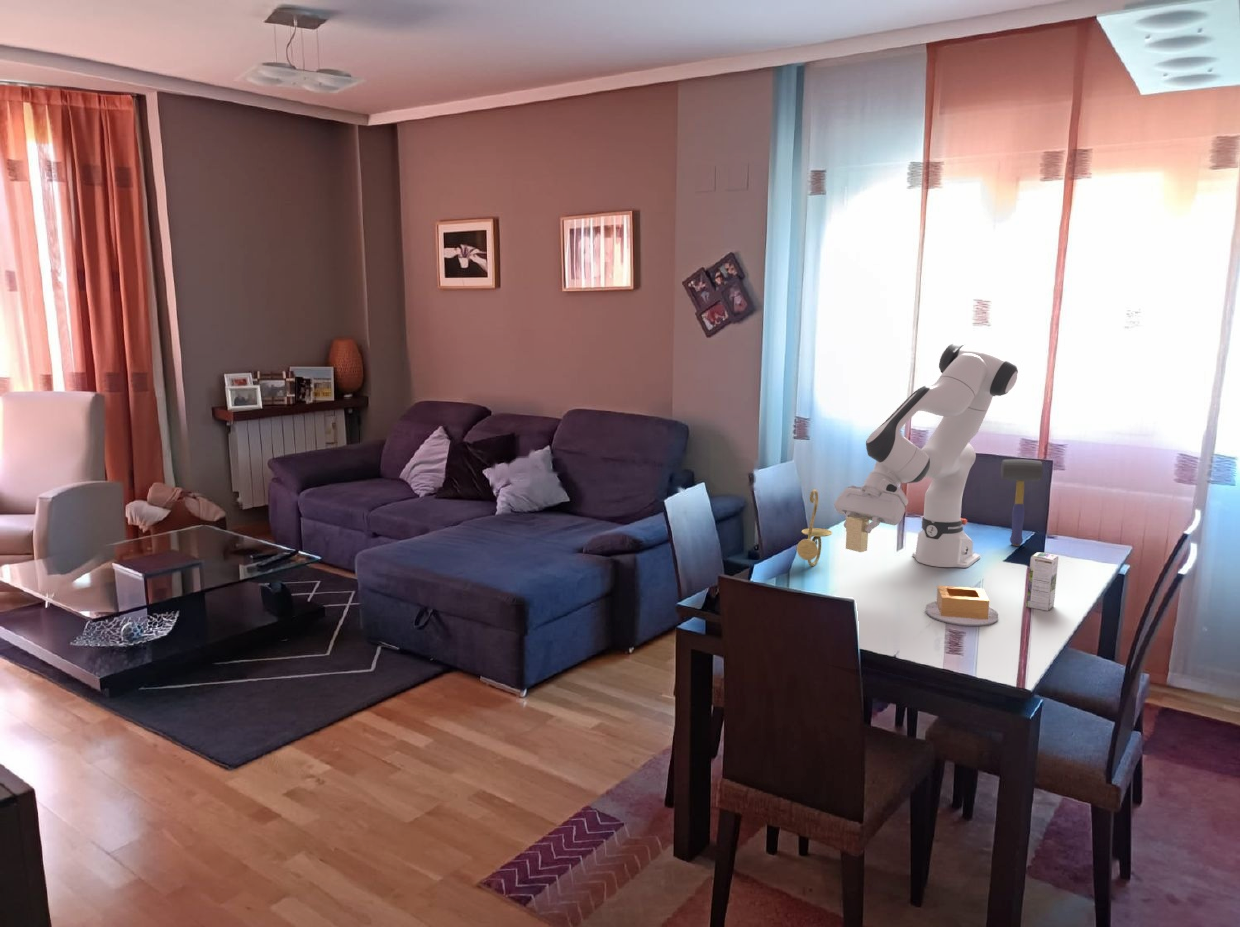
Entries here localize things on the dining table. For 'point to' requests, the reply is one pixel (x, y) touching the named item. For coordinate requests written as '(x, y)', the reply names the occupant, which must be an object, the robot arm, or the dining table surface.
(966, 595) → the socket
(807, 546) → the wall sconce
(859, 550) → the wedge
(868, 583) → the dining table surface
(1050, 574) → the syrup box
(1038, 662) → the dining table surface
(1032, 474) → the rubber mallet
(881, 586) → the dining table surface
